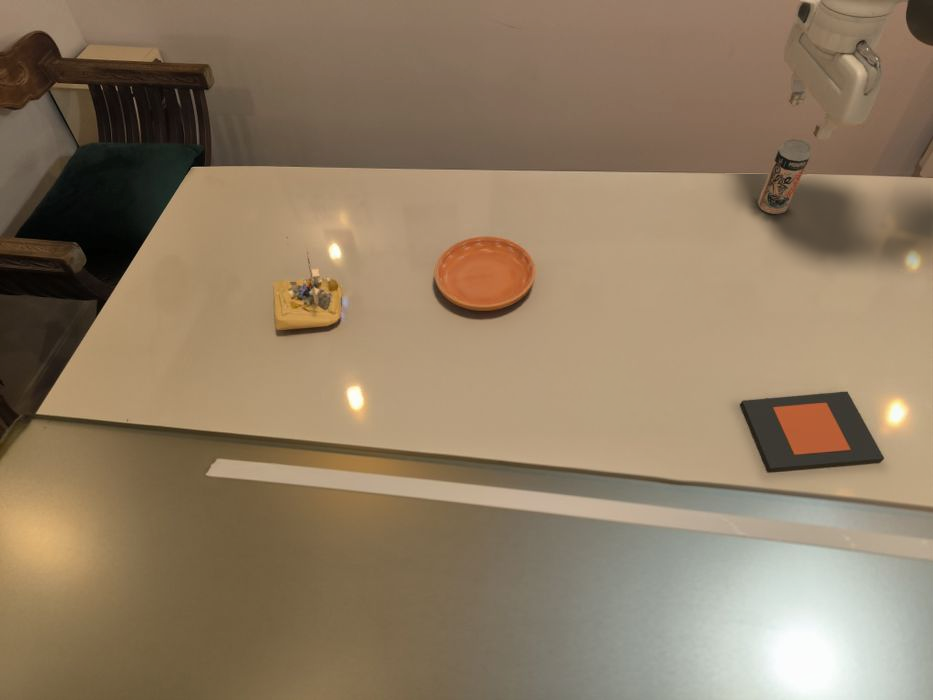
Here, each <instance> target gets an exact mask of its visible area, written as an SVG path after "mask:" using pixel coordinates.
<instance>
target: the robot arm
mask: <svg viewBox="0 0 933 700" xmlns="http://www.w3.org/2000/svg"><path fill="white" fill-rule="evenodd" d="M900 3H907V4H906V10H905V22H906V26H907V29H908V30H909V33H911V35H912V36H913V37H914V38H915V39H916V40H917V41H919V42H921V43H923V44H924V45H927V46H931V47H933V0H799V2H798V3H797V6H796V10H795V16H796V18H795V19H794V21H793V22H792V25H791V27H790V30H789V33H788V35H787V39H786V42H785V45H784V50H783V60H784V62H785V63H786V64H787V66H788V67H789V68H790V69H791V71H792V75H791V81H790V83H791V84H790V93H789V96H788V98H787V100H788V102H789V103H790V105H791V106H793V107H796V106H797V107H798V106H799V107H800V106H801V105H803V103H804V102H805V99H806V97H807V94H806V90H807V91H808V93H810V95H811V96H812V97H813V98H814V100H815V101H816V102H817V103H818V104H819V106H820V107H821V108H822V110H823V111H824V112H825V115H824V119H825V121H823V123H817V124H816V126H815V128H814V131H812V132H813V135H814V137H815V138H816V139H817V140H818V141H827V140H828V139H829V138H830V137H831V135H832V133H833V131H834V130H835V129H836V128H838V127H854V126H859V125H861V124H863V123H864V122H866V121H867V120H868V118H869V116H870V113H871V111H872V109H873V106H874V104H875V102H876V99H877V97H878V95H879V92H880V89H881V85H882V82H883V75H884V74H883V69H882V65H881V62H882V58H881V56H880V55H879V54H878V53H876V52H874V49H875V48H876V47H877V45H878V44H879V42H880V40H881V38H882V36H883V34H884V32H885V29H886V27H887V25H888V23H889V21H890V19H891V17H892V14H893V13H894V10H895V9H896V7H897V5H898V4H900Z"/></svg>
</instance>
